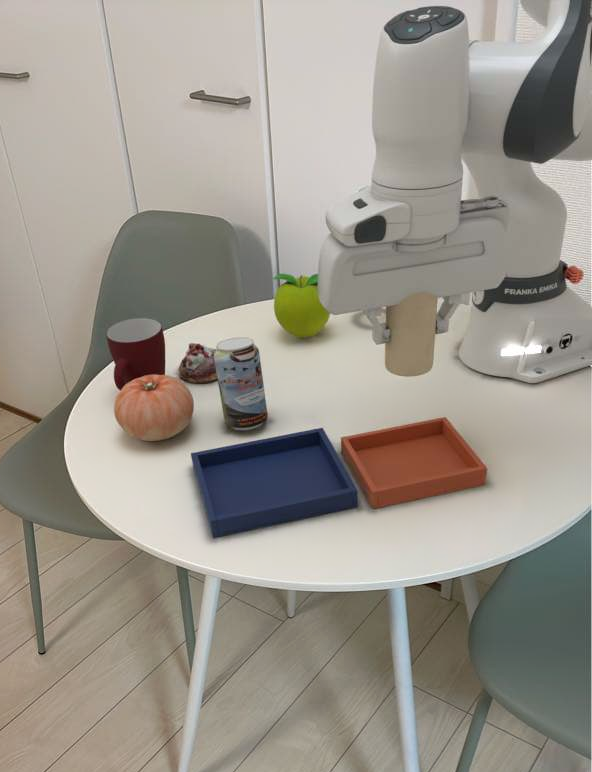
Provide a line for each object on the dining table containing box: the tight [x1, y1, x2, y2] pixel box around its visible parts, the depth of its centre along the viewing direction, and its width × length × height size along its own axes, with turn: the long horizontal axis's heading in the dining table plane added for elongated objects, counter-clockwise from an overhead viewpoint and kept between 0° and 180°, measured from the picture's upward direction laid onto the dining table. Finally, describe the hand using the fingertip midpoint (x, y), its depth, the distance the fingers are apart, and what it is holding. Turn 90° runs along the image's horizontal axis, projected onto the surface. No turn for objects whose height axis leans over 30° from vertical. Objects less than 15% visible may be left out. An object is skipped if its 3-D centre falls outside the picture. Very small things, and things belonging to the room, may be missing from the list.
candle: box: [384, 292, 439, 378], centre depth 83 cm, size 6×6×10 cm
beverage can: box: [214, 336, 269, 431], centre depth 102 cm, size 6×7×12 cm
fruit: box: [272, 273, 331, 339], centre depth 122 cm, size 9×9×10 cm
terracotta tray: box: [340, 416, 488, 510], centre depth 94 cm, size 14×12×2 cm
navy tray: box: [190, 427, 359, 539], centre depth 93 cm, size 18×15×2 cm
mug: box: [105, 317, 166, 392], centre depth 110 cm, size 10×8×10 cm
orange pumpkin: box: [113, 374, 195, 442], centre depth 103 cm, size 11×11×8 cm
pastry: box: [177, 342, 218, 384], centre depth 116 cm, size 8×8×5 cm
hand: (409, 336), depth 84 cm, fingers closed on candle, 5 cm apart
